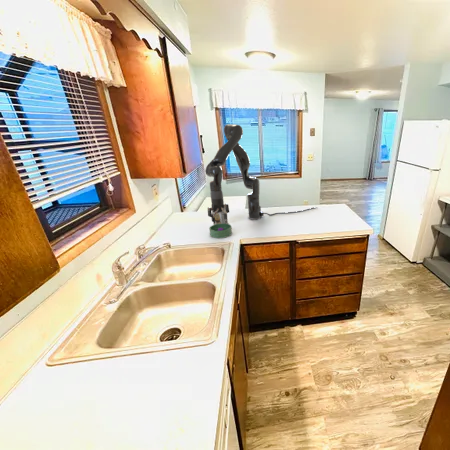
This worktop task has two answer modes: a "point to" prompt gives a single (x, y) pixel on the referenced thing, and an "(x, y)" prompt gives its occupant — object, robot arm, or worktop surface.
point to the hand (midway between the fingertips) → (219, 220)
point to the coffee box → (220, 218)
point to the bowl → (222, 233)
